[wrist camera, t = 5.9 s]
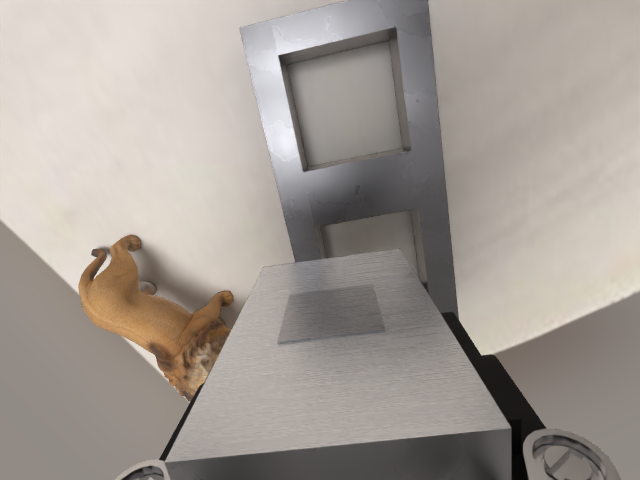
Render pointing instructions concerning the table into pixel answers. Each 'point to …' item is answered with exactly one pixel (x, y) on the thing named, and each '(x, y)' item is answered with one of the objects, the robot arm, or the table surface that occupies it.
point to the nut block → (342, 385)
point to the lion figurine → (154, 317)
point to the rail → (370, 170)
